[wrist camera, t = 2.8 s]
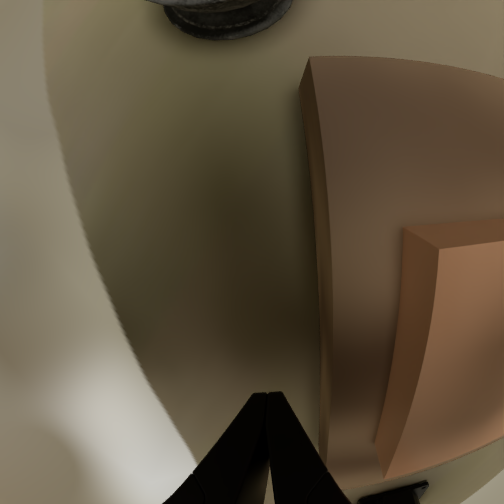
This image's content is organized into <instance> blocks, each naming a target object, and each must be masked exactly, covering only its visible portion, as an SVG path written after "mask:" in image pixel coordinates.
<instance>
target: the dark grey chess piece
mask: <svg viewBox="0 0 504 504" xmlns="http://www.w3.org/2000/svg"><path fill="white" fill-rule="evenodd" d="M146 1H150V2H154V3H157V4H161V5H163V6H164V11H165V13H166V15H167V17H168V18H169V20H170V21H171V23H172V24H173V25H175V26H176V27H177V28H178V29H180V30H181V31H182V32H184V33H187V34H189V35H192V36H194V37H197V38H203V39H209V40H233V39H237V38H241V37H246V36H250V35H253V34H255V33H257V32H260V31H262V30H264V29H267V28H268V27H270V26H271V25H272V24H274V23H275V22H277V21H278V20H280V19H281V18H282V16H283V15H284V14H285V13H286V12H287V10H288V9H289V8H290V6H291V3H292V1H293V0H146Z"/></svg>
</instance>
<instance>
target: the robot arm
mask: <svg viewBox="0 0 504 504" xmlns="http://www.w3.org/2000/svg"><path fill="white" fill-rule="evenodd" d="M269 467H270V470H271V477H272V485H273V492H274V500H275V504H352V503H351V502H350V501H349V499H348V498H347V497H346V496H345V495H344V493H343V492H342V490H341V489H340V487H339V486H338V484H337V483H336V482H335V480H334V478H333V477H332V475H331V474H330V472H328V469H327V467H326V466H325V464H324V462H323V461H322V459H321V457H320V456H319V454H318V452H317V451H316V449H315V447H314V446H313V444H312V442H311V441H310V439H309V437H308V436H307V434H306V432H305V430H304V429H303V427H302V425H301V424H300V422H299V420H298V418H297V417H296V415H295V413H294V412H293V410H292V408H291V406H290V405H289V403H288V401H287V399H286V397H285V396H284V394H283V393H282V392H281V391H279V392H269V393H268V394H267V393H266V392H262V393H253V394H252V395H251V397H250V398H249V399H248V401H247V402H246V404H245V405H244V406H243V408H242V409H241V410H240V412H239V413H238V415H237V416H236V417H235V419H234V420H233V421H232V423H231V424H230V425H229V427H228V428H227V429H226V431H225V432H224V433H223V434H222V436H221V437H220V438H219V440H218V441H217V442H216V443H215V445H214V446H213V447H212V449H211V450H210V451H209V452H208V454H207V455H206V456H205V457H204V459H203V460H202V461H201V462H200V463H199V465H198V466H197V467H196V468H195V470H194V471H193V474H190V475H189V477H188V478H187V479H186V480H185V481H184V483H183V484H182V485H181V486H180V487H179V488H178V489H177V490H176V491H175V492H174V493H173V495H171V496H170V497H169V498H168V499H167V500H166V501H165V502H164V503H163V504H264V498H265V492H266V486H267V480H268V474H269ZM428 487H429V483H428V482H423V483H420V484H417V485H414V486H410V487H407V488H404V489H400V490H396V491H392V492H388V493H384V494H380V495H376V496H371V497H366V498H362V499H360V500H359V501H358V503H357V504H420V502H419V499H420V498H421V496H422V495H423V494H424V492H425V491H426V489H427V488H428Z"/></svg>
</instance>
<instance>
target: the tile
mask: <svg viewBox="0 0 504 504" xmlns="http://www.w3.org/2000/svg"><path fill="white" fill-rule="evenodd" d="M503 435H504V218H503V219H491V220H478V221H466V222H454V223H442V224H430V225H419V226H407V227H403V252H402V276H401V291H400V303H399V314H398V323H397V331H396V339H395V346H394V353H393V360H392V366H391V371H390V377H389V382H388V388H387V393H386V397H385V402H384V407H383V411H382V415H381V419H380V424H379V428H378V431H377V435H376V439H375V447H376V451H377V455H378V459H379V463H380V467H381V471H382V475H383V479H384V480H385V479H389V478H393V477H397V476H400V475H404V474H408V473H411V472H414V471H418V470H421V469H424V468H427V467H430V466H433V465H436V464H439V463H442V462H444V461H447V460H450V459H452V458H455V457H458V456H460V455H462V454H465V453H467V452H470V451H472V450H474V449H476V448H479V447H481V446H483V445H485V444H487V443H489V442H491V441H493V440H495V439H497V438H499V437H501V436H503Z"/></svg>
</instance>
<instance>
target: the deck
mask: <svg viewBox="0 0 504 504" xmlns="http://www.w3.org/2000/svg"><path fill="white" fill-rule="evenodd" d="M298 89H299V95H300V102H301V109H302V116H303V123H304V130H305V138H306V146H307V155H308V163H309V172H310V182H311V192H312V203H313V214H314V227H315V240H316V255H317V272H318V293H319V322H320V419H319V455H320V457H321V459H322V461H323V462H324V464H325V466H326V467H327V469H328V472H330V474H331V475H332V477H333V478H334V480H335V482H336V483H337V484H338V486H339V487H340V489H341V490H346V489H352V488H358V487H363V486H368V485H373V484H377V483H382V482H386V481H390V480H394V479H398V478H402V477H405V476H409V475H412V474H415V473H419V472H422V471H425V470H428V469H431V468H434V467H437V466H440V465H442V464H445V463H448V462H450V461H453V460H456V459H458V458H461V457H463V456H465V455H468V454H470V453H472V452H475V451H477V450H479V449H481V448H483V447H485V446H488V445H490V444H492V443H494V442H496V441H498V440H500V439H501V438H503V437H504V435H503V436H501V437H499V438H497V439H495V440H493V441H491V442H489V443H487V444H485V445H483V446H481V447H479V448H476V449H474V450H472V451H470V452H467V453H465V454H462V455H460V456H458V457H455V458H452V459H450V460H447V461H444V462H442V463H439V464H436V465H433V466H430V467H427V468H424V469H421V470H418V471H414V472H411V473H408V474H404V475H400V476H397V477H393V478H389V479H385V480H384V479H383V475H382V471H381V467H380V463H379V459H378V455H377V451H376V447H375V439H376V435H377V431H378V428H379V424H380V419H381V415H382V411H383V407H384V402H385V397H386V393H387V388H388V382H389V377H390V371H391V366H392V360H393V353H394V346H395V339H396V331H397V323H398V314H399V303H400V291H401V276H402V252H403V227H407V226H419V225H430V224H442V223H454V222H466V221H478V220H491V219H503V218H504V79H502V78H498V77H495V76H491V75H487V74H484V73H480V72H475V71H471V70H467V69H462V68H457V67H452V66H447V65H441V64H435V63H428V62H421V61H413V60H404V59H394V58H381V57H361V56H316V57H309V59H308V62H307V65H306V68H305V70H304V73H303V76H302V79H301V82H300V85H299V88H298Z"/></svg>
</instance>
